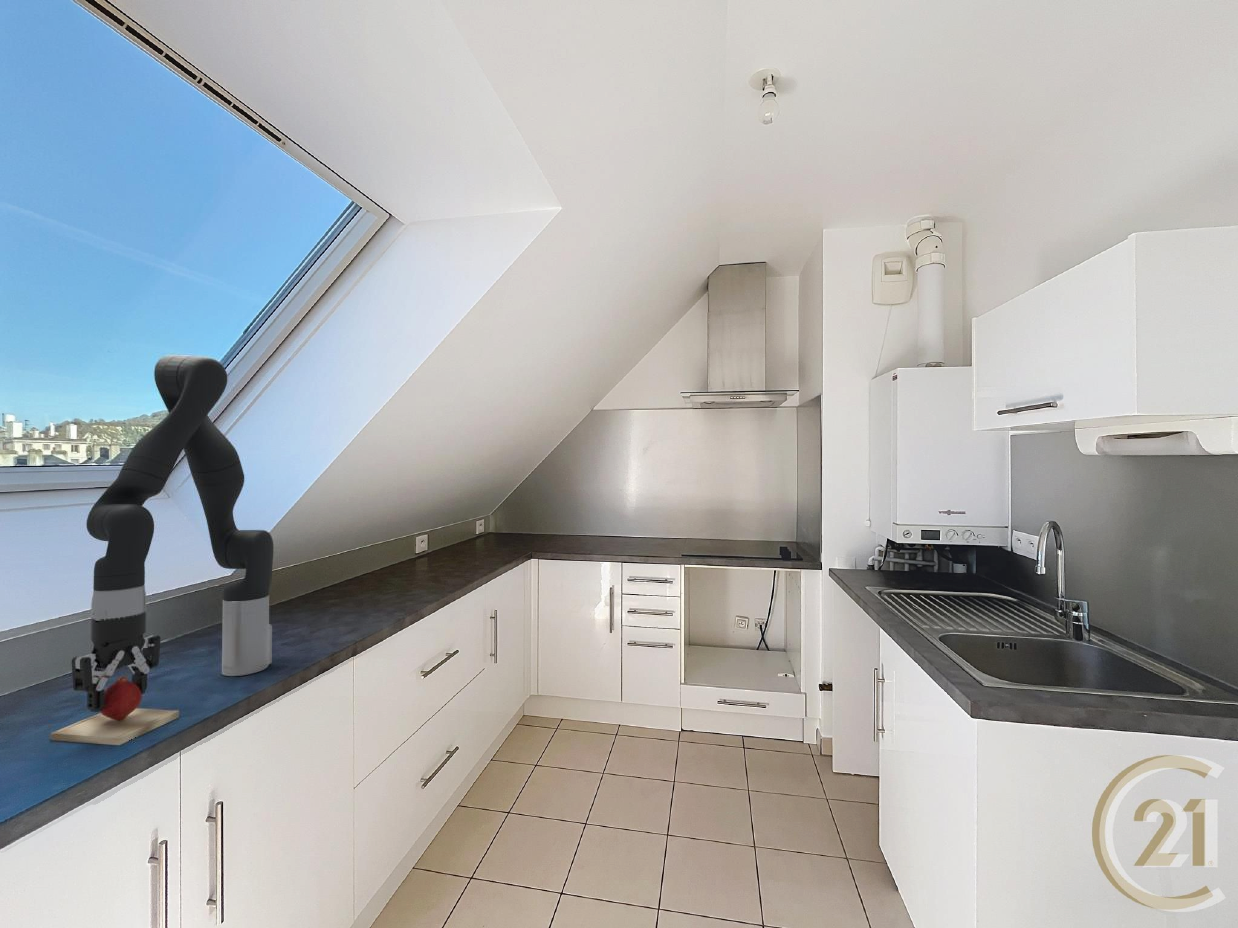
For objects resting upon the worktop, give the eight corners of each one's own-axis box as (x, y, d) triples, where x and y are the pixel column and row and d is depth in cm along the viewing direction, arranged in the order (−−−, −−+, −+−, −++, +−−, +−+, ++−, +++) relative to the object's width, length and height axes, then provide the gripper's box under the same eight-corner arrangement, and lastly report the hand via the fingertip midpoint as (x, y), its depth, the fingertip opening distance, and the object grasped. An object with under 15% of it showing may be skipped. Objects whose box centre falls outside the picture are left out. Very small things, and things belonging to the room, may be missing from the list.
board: (116, 712, 107) (116, 706, 107) (179, 716, 105) (179, 710, 105) (50, 739, 96) (50, 732, 96) (119, 745, 94) (119, 737, 94)
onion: (109, 729, 97) (111, 683, 97) (90, 724, 99) (92, 679, 99) (147, 716, 102) (149, 673, 103) (129, 711, 105) (131, 669, 105)
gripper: (140, 602, 108) (139, 686, 108) (57, 621, 94) (55, 718, 94) (174, 603, 107) (173, 688, 107) (94, 623, 93) (93, 721, 93)
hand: (118, 701), depth 101 cm, fingers open, 6 cm apart
